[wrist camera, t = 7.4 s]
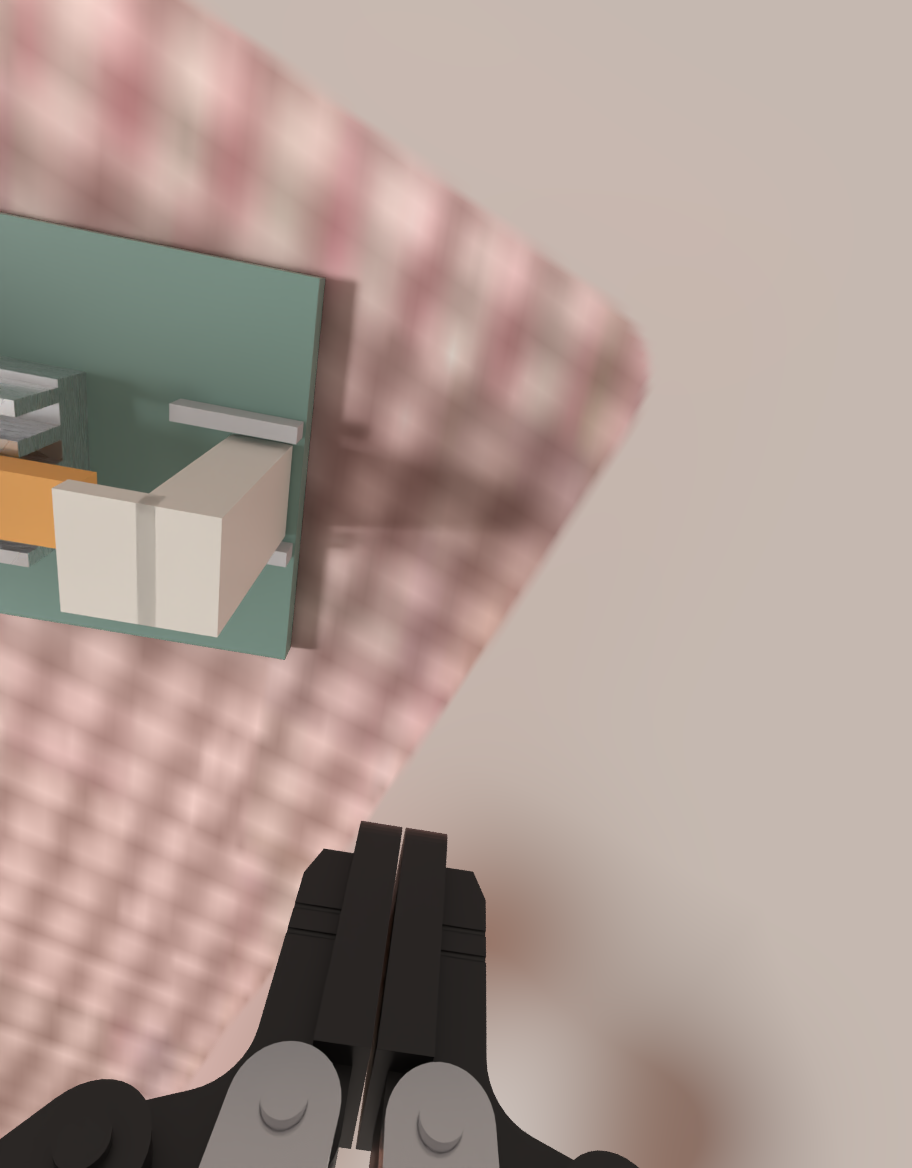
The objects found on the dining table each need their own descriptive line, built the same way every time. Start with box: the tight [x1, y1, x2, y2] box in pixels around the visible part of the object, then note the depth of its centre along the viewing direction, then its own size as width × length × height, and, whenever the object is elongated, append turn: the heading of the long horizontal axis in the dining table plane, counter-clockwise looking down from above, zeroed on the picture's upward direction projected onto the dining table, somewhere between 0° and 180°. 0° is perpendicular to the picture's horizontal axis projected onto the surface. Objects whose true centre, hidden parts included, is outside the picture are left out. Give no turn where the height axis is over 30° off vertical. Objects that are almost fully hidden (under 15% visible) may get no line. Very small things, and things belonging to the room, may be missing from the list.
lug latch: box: [52, 434, 293, 637], centre depth 22 cm, size 4×4×8 cm
